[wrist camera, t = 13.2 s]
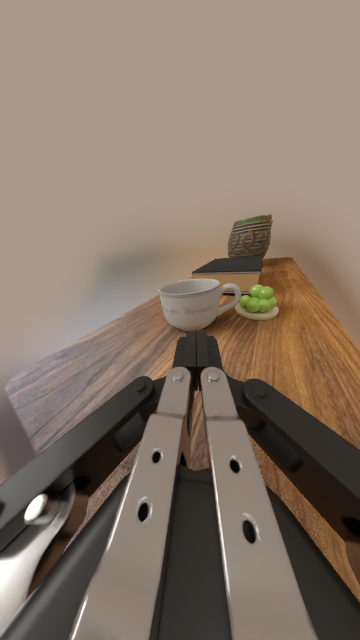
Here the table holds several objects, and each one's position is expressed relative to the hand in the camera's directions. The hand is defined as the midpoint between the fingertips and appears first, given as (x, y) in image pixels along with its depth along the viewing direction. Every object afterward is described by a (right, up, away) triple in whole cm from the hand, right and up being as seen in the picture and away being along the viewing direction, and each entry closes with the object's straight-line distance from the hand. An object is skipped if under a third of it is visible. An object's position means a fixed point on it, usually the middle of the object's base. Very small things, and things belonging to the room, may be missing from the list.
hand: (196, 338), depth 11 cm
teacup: (+2, +1, +16) cm, 16 cm away
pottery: (+32, +29, +57) cm, 71 cm away
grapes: (+14, +4, +17) cm, 23 cm away
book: (+16, +14, +36) cm, 42 cm away
